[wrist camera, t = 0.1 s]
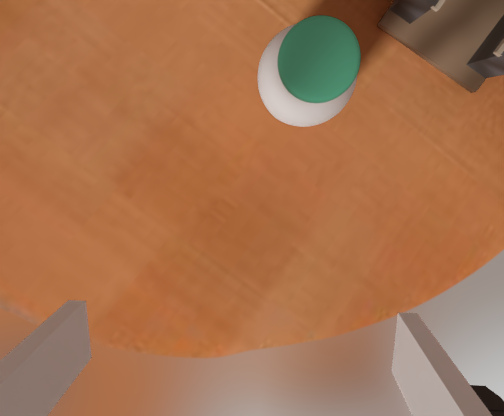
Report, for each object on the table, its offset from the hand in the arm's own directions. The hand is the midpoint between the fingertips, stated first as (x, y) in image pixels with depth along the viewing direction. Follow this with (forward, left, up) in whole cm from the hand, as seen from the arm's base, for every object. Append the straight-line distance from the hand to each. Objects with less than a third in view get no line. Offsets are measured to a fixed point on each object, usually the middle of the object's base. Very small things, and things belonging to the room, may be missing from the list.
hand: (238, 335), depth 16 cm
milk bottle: (-12, +4, -28) cm, 31 cm away
